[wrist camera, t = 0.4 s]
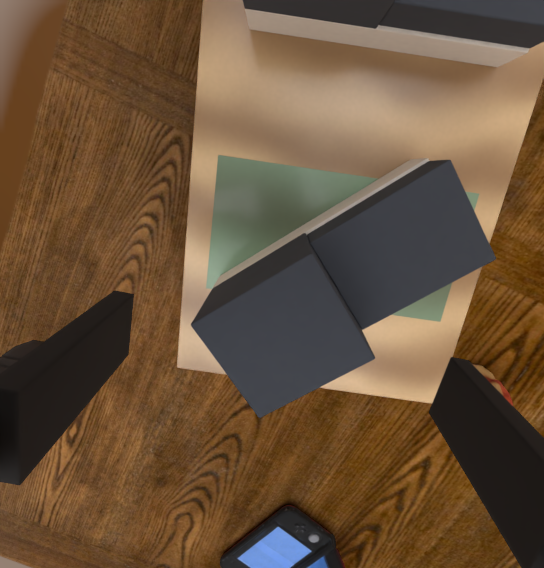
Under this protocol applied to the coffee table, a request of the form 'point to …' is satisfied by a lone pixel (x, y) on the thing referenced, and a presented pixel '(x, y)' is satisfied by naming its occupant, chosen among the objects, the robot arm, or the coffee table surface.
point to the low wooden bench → (340, 166)
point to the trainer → (339, 283)
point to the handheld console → (285, 544)
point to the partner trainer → (411, 25)
